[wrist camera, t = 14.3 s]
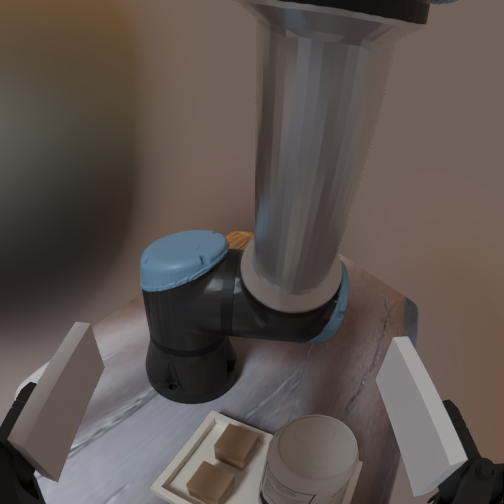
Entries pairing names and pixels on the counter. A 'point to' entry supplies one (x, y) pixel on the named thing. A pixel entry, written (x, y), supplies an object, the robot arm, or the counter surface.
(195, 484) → the walnut block
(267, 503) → the supplement can
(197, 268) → the robot arm
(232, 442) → the walnut block
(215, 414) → the tray
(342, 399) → the counter surface
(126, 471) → the counter surface
